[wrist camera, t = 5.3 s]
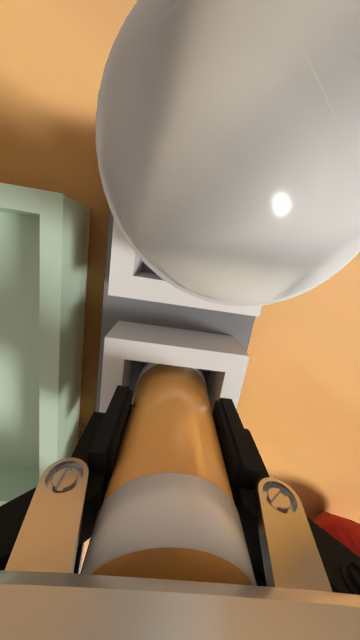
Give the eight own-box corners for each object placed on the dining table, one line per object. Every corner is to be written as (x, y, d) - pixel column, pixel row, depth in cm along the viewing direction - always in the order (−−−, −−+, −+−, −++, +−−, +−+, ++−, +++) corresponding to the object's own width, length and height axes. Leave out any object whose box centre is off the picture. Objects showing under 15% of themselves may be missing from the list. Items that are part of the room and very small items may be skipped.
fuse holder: (121, 145, 13) (95, 88, 8) (278, 175, 13) (329, 135, 9) (93, 504, 19) (70, 576, 15) (200, 513, 20) (208, 585, 16)
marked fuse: (142, 345, 14) (75, 537, 4) (209, 354, 14) (281, 553, 5) (135, 404, 15) (68, 663, 5) (197, 411, 15) (238, 670, 6)
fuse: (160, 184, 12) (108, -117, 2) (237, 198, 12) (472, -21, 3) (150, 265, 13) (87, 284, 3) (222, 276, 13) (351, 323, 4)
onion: (311, 548, 21) (390, 712, 14) (274, 515, 20) (337, 674, 13) (365, 514, 21) (482, 669, 13) (330, 477, 19) (434, 623, 12)
